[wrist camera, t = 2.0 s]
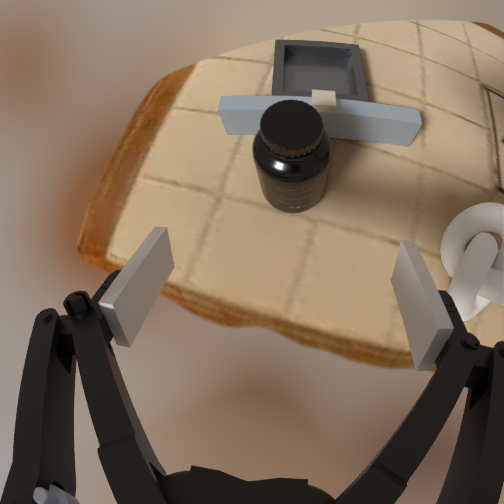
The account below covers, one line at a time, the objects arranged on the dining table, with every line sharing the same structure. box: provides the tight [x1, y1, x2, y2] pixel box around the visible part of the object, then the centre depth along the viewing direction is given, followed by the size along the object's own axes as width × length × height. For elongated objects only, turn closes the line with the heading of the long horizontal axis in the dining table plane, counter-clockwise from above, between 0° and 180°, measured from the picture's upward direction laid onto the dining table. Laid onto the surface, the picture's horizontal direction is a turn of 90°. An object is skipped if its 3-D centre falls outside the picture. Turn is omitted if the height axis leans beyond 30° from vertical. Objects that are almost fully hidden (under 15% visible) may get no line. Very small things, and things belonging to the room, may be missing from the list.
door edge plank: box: [218, 90, 422, 147], centre depth 31 cm, size 22×2×6 cm, turn 85°
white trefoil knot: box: [440, 202, 504, 321], centre depth 24 cm, size 11×12×9 cm
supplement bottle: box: [252, 99, 332, 213], centre depth 27 cm, size 7×7×12 cm
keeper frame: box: [272, 40, 369, 102], centre depth 35 cm, size 12×12×2 cm
